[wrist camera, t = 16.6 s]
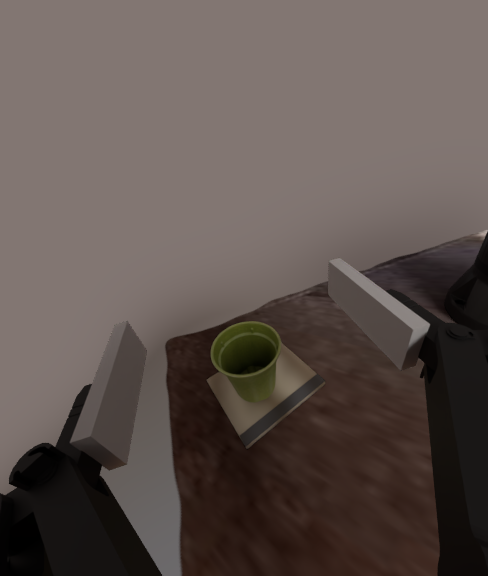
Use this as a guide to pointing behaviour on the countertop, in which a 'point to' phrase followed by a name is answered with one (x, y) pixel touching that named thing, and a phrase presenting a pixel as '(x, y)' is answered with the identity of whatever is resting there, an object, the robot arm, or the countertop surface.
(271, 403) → the board
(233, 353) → the plant pot
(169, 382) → the countertop surface
